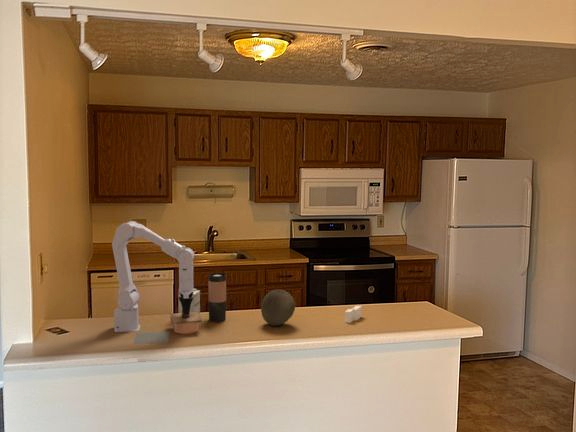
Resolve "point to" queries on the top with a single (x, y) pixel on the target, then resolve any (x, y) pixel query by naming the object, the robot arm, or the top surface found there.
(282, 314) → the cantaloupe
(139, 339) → the slate mat
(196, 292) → the supplement box
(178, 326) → the terracotta bowl
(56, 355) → the top surface
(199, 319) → the walnut cover
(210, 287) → the travel mug
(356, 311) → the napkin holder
